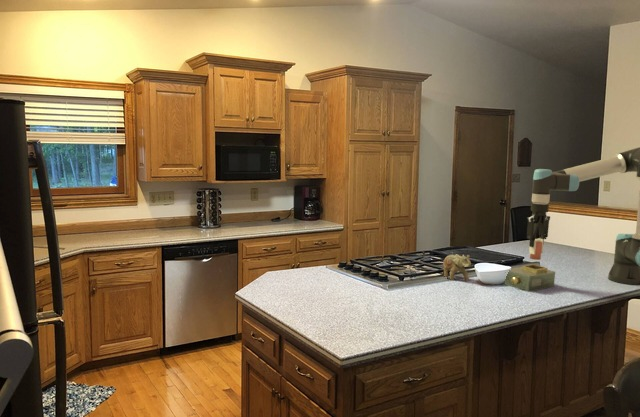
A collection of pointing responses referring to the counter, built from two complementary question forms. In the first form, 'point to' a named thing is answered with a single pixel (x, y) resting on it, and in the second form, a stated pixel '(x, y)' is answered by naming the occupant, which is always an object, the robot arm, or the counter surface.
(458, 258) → the figurine
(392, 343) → the counter surface
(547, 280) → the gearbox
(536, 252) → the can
